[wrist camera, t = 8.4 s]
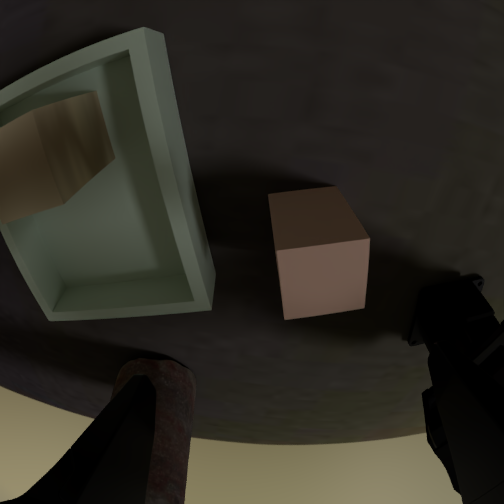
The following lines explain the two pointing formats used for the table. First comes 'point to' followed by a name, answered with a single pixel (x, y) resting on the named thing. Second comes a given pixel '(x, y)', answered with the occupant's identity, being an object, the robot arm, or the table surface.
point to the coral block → (318, 252)
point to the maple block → (51, 155)
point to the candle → (166, 425)
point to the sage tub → (117, 194)
